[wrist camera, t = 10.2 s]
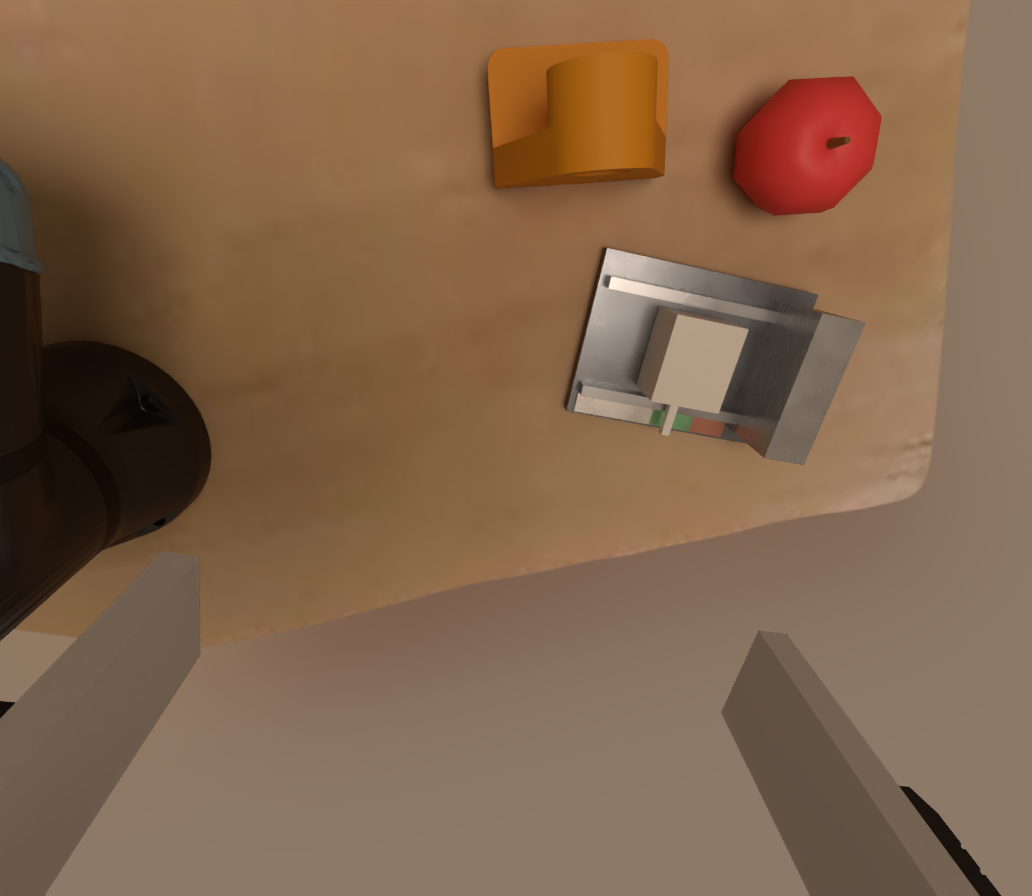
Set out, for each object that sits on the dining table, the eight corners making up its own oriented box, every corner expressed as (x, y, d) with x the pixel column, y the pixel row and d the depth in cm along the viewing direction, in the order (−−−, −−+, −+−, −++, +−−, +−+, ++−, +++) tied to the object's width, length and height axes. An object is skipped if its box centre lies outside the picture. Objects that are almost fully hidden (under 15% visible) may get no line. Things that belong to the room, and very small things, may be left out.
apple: (817, 62, 35) (906, 21, 28) (844, 186, 38) (930, 178, 31) (701, 123, 36) (758, 99, 29) (736, 239, 39) (795, 244, 32)
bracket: (655, 51, 35) (737, -28, 24) (652, 178, 38) (723, 161, 26) (485, 61, 34) (487, -13, 23) (494, 189, 37) (500, 176, 26)
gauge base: (564, 406, 43) (579, 439, 37) (603, 247, 39) (628, 252, 32) (751, 439, 45) (798, 477, 39) (809, 292, 41) (872, 306, 34)
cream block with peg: (625, 419, 43) (639, 438, 39) (659, 305, 39) (677, 314, 36) (686, 430, 43) (705, 450, 40) (724, 319, 40) (748, 329, 36)
